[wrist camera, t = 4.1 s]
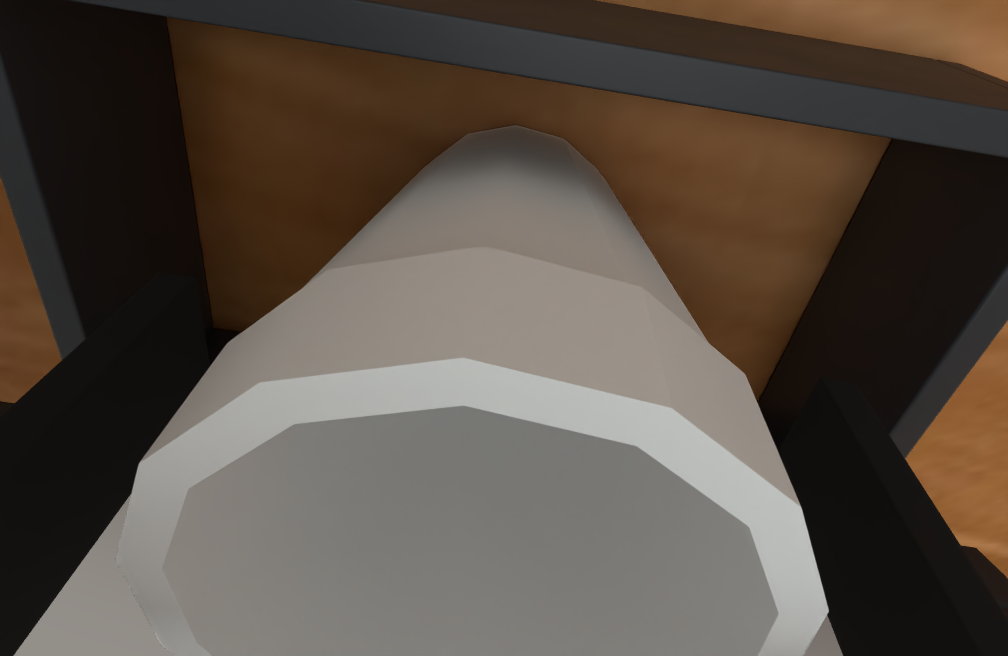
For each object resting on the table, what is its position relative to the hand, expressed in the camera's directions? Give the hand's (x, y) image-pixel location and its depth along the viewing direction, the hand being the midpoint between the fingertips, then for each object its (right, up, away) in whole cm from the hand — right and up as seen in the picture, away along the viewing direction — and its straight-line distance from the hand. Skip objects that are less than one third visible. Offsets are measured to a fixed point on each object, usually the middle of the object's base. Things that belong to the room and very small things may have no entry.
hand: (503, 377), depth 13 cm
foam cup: (0, +4, +6) cm, 8 cm away
